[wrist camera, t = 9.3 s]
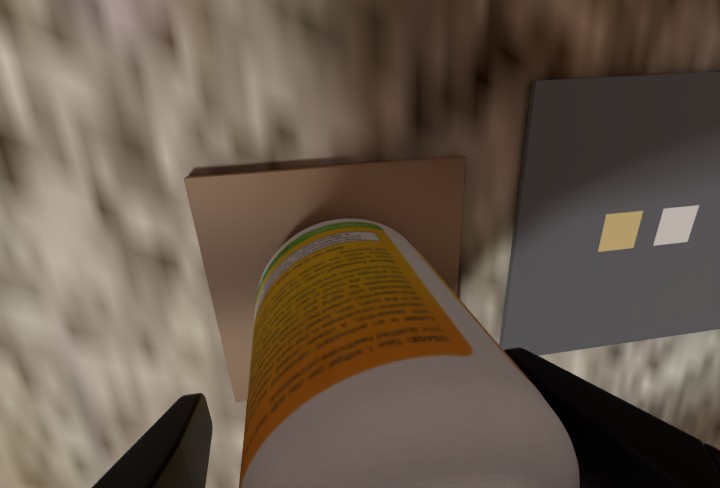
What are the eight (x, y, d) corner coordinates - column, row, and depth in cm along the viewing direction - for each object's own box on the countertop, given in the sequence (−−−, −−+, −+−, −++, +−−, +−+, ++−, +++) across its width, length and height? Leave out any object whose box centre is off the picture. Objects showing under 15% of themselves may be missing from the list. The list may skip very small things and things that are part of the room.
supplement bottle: (226, 329, 12) (67, 1091, 3) (310, 181, 10) (504, 710, 2) (368, 379, 14) (537, 917, 5) (453, 259, 12) (894, 688, 4)
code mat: (718, 325, 16) (723, 328, 16) (497, 357, 15) (500, 360, 14) (821, 66, 12) (830, 65, 12) (532, 80, 11) (536, 80, 11)
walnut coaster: (449, 364, 14) (452, 369, 14) (237, 395, 13) (236, 402, 13) (462, 156, 11) (466, 157, 11) (186, 176, 10) (183, 178, 10)
